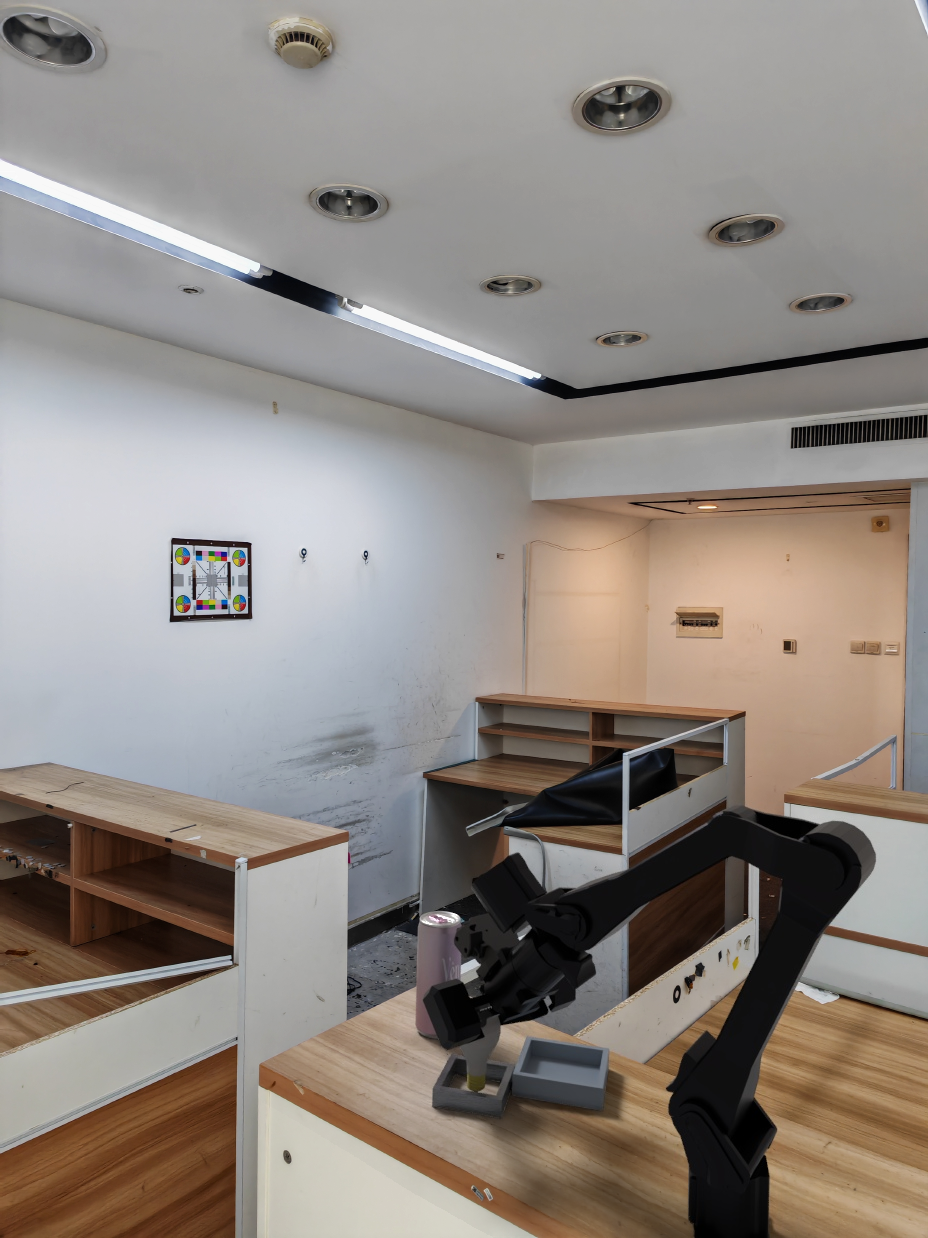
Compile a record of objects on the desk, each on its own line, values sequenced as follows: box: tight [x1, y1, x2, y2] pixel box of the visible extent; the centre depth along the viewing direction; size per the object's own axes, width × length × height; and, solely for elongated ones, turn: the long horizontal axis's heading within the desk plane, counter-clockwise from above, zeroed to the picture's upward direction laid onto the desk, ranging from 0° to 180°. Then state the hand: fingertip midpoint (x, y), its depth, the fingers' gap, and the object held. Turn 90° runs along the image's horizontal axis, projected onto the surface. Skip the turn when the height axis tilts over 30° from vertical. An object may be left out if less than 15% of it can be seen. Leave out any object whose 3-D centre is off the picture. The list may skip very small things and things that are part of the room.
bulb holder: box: [431, 1053, 516, 1119], centre depth 95 cm, size 8×8×2 cm
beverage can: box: [414, 910, 462, 1040], centre depth 110 cm, size 6×6×15 cm
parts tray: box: [511, 1035, 610, 1112], centre depth 98 cm, size 10×9×2 cm
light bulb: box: [458, 1007, 502, 1092], centre depth 95 cm, size 6×6×10 cm
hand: (469, 1029), depth 96 cm, fingers closed on light bulb, 5 cm apart
